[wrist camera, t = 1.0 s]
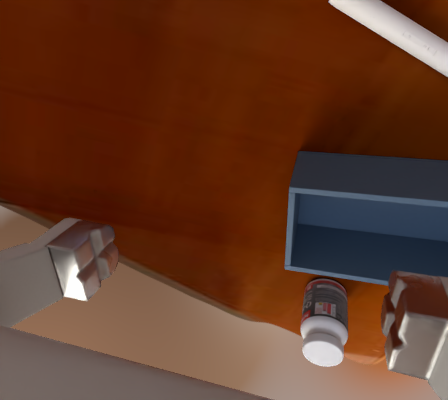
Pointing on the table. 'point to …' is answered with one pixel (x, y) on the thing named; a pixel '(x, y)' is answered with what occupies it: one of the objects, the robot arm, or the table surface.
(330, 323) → the pill bottle
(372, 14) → the marker
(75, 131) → the table surface
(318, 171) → the blue box
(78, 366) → the robot arm
